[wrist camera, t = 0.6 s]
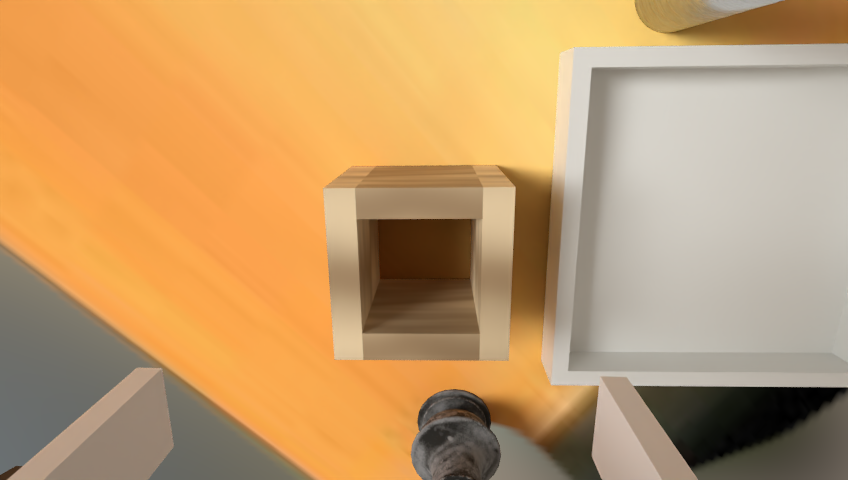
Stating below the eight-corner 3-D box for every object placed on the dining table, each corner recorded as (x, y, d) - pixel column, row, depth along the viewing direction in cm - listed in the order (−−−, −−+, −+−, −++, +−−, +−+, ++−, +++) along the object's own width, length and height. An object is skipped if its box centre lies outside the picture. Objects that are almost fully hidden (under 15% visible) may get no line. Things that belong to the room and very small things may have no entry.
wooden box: (352, 166, 31) (323, 188, 23) (496, 165, 31) (515, 187, 23) (358, 299, 33) (334, 359, 26) (492, 299, 33) (508, 360, 25)
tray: (559, 52, 29) (574, 47, 26) (913, 48, 28) (969, 41, 25) (541, 360, 34) (551, 385, 31) (837, 361, 34) (875, 387, 31)
